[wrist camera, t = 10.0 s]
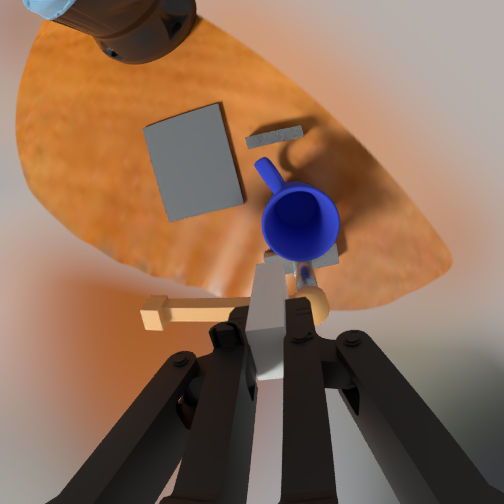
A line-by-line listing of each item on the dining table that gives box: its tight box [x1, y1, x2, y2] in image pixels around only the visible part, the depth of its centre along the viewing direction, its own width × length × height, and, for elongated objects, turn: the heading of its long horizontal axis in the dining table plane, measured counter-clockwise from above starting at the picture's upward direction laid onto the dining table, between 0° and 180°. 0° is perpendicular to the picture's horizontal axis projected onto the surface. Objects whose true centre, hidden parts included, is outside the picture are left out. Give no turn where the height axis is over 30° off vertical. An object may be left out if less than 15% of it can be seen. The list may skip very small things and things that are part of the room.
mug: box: [254, 157, 340, 262], centre depth 35 cm, size 8×12×10 cm
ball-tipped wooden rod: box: [140, 286, 329, 330], centre depth 30 cm, size 19×4×3 cm, turn 95°
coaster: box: [143, 104, 244, 222], centre depth 39 cm, size 14×11×1 cm
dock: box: [245, 125, 339, 291], centre depth 34 cm, size 19×10×12 cm, turn 14°
